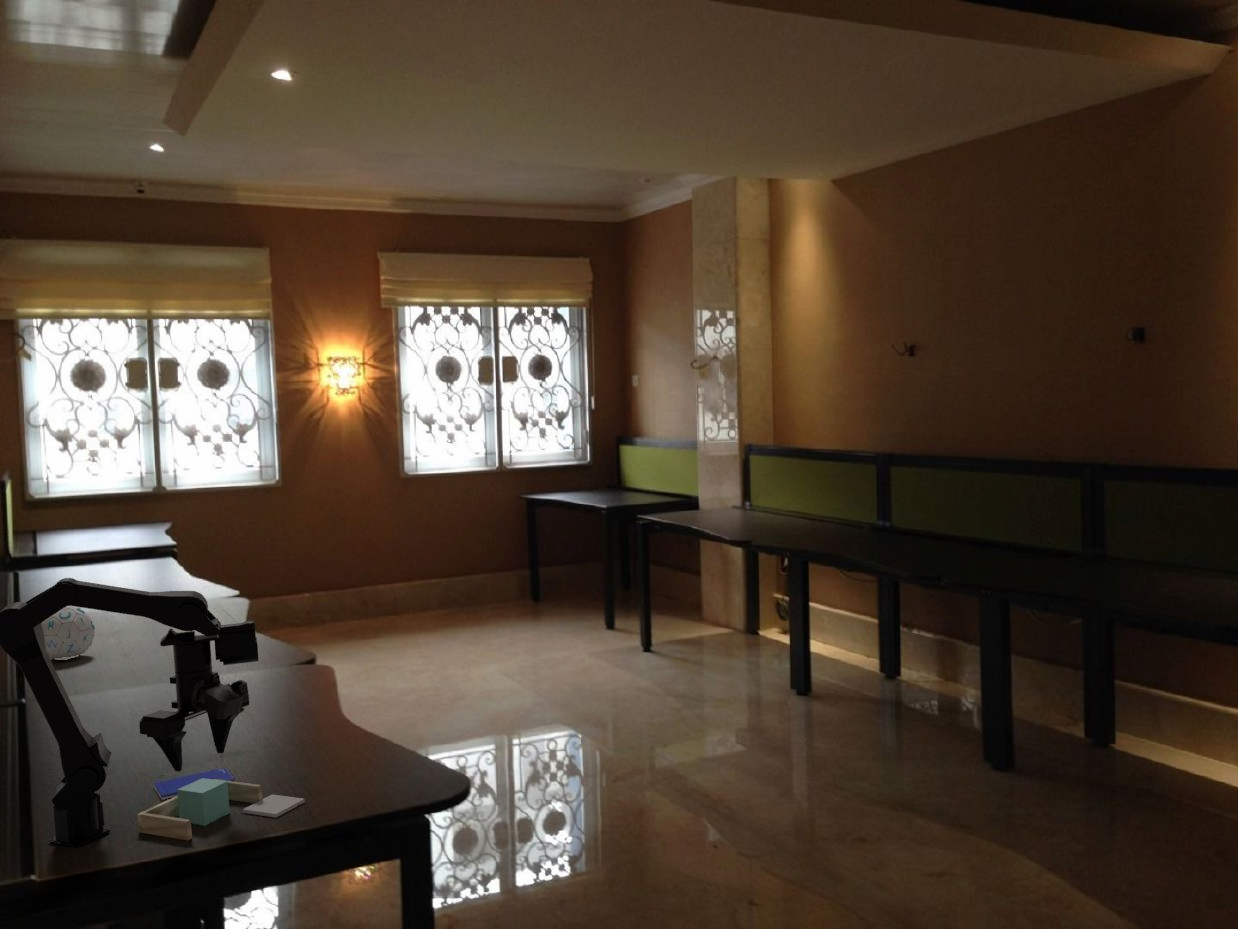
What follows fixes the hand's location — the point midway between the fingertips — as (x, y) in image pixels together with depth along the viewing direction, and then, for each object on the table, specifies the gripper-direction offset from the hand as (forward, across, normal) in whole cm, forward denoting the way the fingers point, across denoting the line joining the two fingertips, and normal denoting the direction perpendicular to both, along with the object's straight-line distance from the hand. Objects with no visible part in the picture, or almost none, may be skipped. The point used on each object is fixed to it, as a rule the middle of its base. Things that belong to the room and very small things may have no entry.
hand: (199, 762), depth 180 cm
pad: (+9, +7, -9) cm, 15 cm away
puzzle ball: (+10, +78, +128) cm, 151 cm away
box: (+9, 0, 0) cm, 9 cm away
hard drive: (+10, +11, +13) cm, 20 cm away
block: (+10, 0, 0) cm, 10 cm away
